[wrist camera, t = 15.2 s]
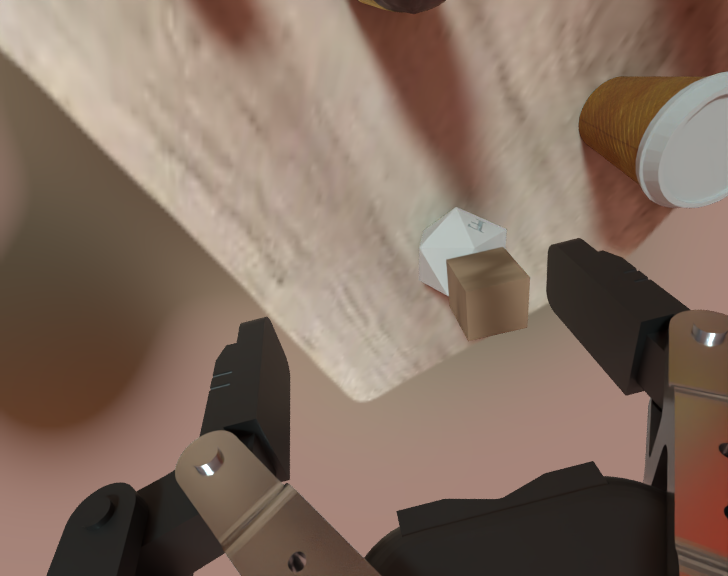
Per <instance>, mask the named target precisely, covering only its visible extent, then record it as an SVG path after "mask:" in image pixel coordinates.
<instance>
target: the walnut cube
mask: <svg viewBox="0 0 728 576" xmlns="http://www.w3.org/2000/svg"><path fill="white" fill-rule="evenodd" d="M446 266H447V279H448V292H449V305H450V308H451V309H452V311H453V313H454V315H455V317H456V319H457V321H458V323H459V325H460V326H461V328H462V330H463V332H464V334H465V336H466V338H467V340H468V341H471V340H475V339H479V338H484V337H488V336H492V335H497V334H501V333H505V332H509V331H514V330H518V329H523V328H527V322H528V304H529V285H530V277H529V276H528V275H527V273H526V272H525V271H524V270H523V269H522V268H521V267H520V266H519V264H518V263H517V262H516V261H515V260H514V259H513V258H512V256H511V255H510V254H509V253H508V252H507V251H506V250H505V249H504V247H500V248H495V249H491V250H486V251H482V252H478V253H473V254H469V255H464V256H460V257H455V258H451V259H447V260H446Z"/></svg>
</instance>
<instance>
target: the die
mask: <svg viewBox="0 0 728 576" xmlns="http://www.w3.org/2000/svg"><path fill="white" fill-rule="evenodd" d="M506 234H507V229H505V228H503V227H501V226H498V225H496V224H494V223H492V222H489V221H487V220H485V219H483V218H480V217H478V216H476V215H474V214H471V213H469V212H467V211H464V210H462V209H460V208H458V207H455V208H454V209H452V210H451V211H449V212H448V213H447V214H445V215H444V216H443V217H441V218H440V219H438V220H437V221H436V222H434V223H433V224H432V225H430V226H429V227H428V228H426V229H425V230H424V231H423V235H422V239H421V243H420V247H419V280H420V281H421V282H423V283H425V284H427V285H429V286H430V287H432V288H434V289H436V290H438V291H440V292H441V293H443V294H445V295H447V296H449V292H448V279H447V266H446V260H447V259H451V258H455V257H460V256H464V255H469V254H473V253H478V252H482V251H486V250H491V249H495V248H500V247H504V249H505V246H506Z"/></svg>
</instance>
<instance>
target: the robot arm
mask: <svg viewBox="0 0 728 576" xmlns="http://www.w3.org/2000/svg"><path fill="white" fill-rule="evenodd" d="M546 292H547V298H548V301H549V304H550V306H551V308H552V310H553V311H554V312H555V314H556V315H557V316H558V317H559V318H560V319H561V321H562V322H563V323H564V324H565V325H566V326H567V328H568V329H569V330H570V331H571V332H572V333H573V335H574V336H575V337H576V338H577V339H578V340H579V342H580V343H581V344H582V345H583V346H584V347H585V349H586V350H587V351H588V352H589V353H590V354H591V356H592V357H593V358H594V359H595V360H596V361H597V363H598V364H599V365H600V366H601V367H602V368H603V370H604V371H605V372H606V373H607V374H608V375H609V377H610V378H611V379H612V380H613V381H614V382H615V384H616V385H617V386H618V387H619V388H620V389H621V390H622V392H623V393H624V394H625V395H630V394H634V393H638V392H642V391H645V392H646V393H647V394H648V395H649V396H650V401H649V405H648V420H647V439H646V458H645V459H646V460H645V472H644V480H643V483H641V482H638V481H634V480H629V479H625V478H618V477H609V476H603V475H602V474H601V473H600V471H599V469H598V468H597V466H596V465H595V463H594V462H593V461H592V462H588V463H584V464H580V465H576V466H572V467H568V468H564V469H560V470H556V471H553V472H549V473H545V474H543V475H541V476H540V477H538V478H536V479H535V480H533V481H531V482H529V483H528V484H526V485H524V486H522V487H521V488H519V489H517V490H516V491H514V492H512V493H510V494H509V495H507V496H505V497H503V498H500V499H442V500H439V501H435V502H431V503H427V504H423V505H419V506H415V507H411V508H407V509H403V510H399V511H397V516H398V521H399V525H400V527H398V528H397V529H395V530H393V531H391V532H390V533H389V534H387V535H386V536H385V537H383V538H382V539H381V540H380V541H379V542H378V543H377V544H376V545H375V546H374V547H373V548H372V549H371V550H370V551H369V552H368V554H367V555H366V556H365V557H364V558H363V557H362V556H361V555H360V554H359V553H358V552H357V551H356V550H355V549H354V548H353V547H352V546H351V545H350V544H349V543H348V542H347V541H346V540H345V539H344V538H343V537H342V536H341V535H340V534H339V533H338V532H337V531H336V530H335V529H334V528H333V527H332V526H331V525H330V524H329V523H328V522H327V521H326V520H325V519H324V518H323V517H322V516H321V515H320V514H319V513H318V512H317V511H316V510H315V509H314V508H313V507H312V506H311V505H310V504H309V503H308V502H307V501H306V500H305V499H304V498H303V497H302V496H301V495H300V494H299V493H298V492H297V491H296V490H295V489H294V488H293V487H292V486H291V485H290V484H288V483H286V484H285V485H284V484H282V483H281V482H283V481H287V480H289V479H290V371H289V366H288V362H287V358H286V356H285V353H284V351H283V349H282V346H281V344H280V342H279V339H278V337H277V335H276V332H275V330H274V328H273V325H272V323H271V321H270V319H269V318H268V317H264V318H260V319H256V320H252V321H248V322H244V323H241V324H240V327H239V333H238V339H237V343H234V344H231V345H227V346H226V347H225V348H224V350H223V351H222V352H221V354H220V355H219V357H218V359H217V360H216V363H215V368H214V372H213V378H212V381H211V386H210V389H211V391H209V396H208V401H207V405H206V409H205V414H204V419H203V423H202V428H201V433H200V437H199V438H198V439H196V440H195V441H193V442H192V443H191V444H190V445H189V446H188V447H187V448H186V449H185V450H184V451H183V453H182V454H181V456H180V458H179V459H178V462H177V464H176V468H175V470H174V471H173V472H171V473H169V474H168V475H166V476H164V477H162V478H160V479H159V480H157V481H155V482H153V483H152V484H150V485H148V486H146V487H144V488H142V489H140V490H138V491H137V492H136V491H135V490H134V489H133V487H131V486H130V485H129V484H126V483H113V484H109V485H107V486H104V487H102V488H100V489H98V490H97V491H95V492H94V493H92V494H91V495H90V496H88V497H87V498H86V499H85V500H84V501H83V502H82V503H81V504H80V505H79V506H78V507H77V508H76V510H75V511H74V512H73V513H72V515H71V516H70V518H69V520H68V522H67V524H66V526H65V529H64V531H63V534H62V537H61V539H60V542H59V544H58V547H57V550H56V552H55V555H54V557H53V560H52V563H51V565H50V568H49V570H48V573H47V576H193V573H194V572H195V571H197V570H198V569H200V568H202V567H203V566H205V565H206V564H208V563H210V562H211V561H213V560H214V559H216V558H218V557H219V556H221V555H223V554H224V553H226V555H227V557H228V558H229V559H230V561H231V562H232V564H233V565H234V567H235V568H236V569H237V571H238V572H239V573H240V575H241V576H728V315H725V314H722V313H717V312H714V311H708V310H690V309H689V308H687V307H686V306H685V305H683V304H682V303H681V302H680V301H678V300H677V299H676V298H674V297H673V296H672V295H670V294H669V293H668V292H666V291H665V290H664V289H663V288H661V287H660V286H659V285H657V284H656V283H655V282H653V281H652V280H648V277H647V276H645V275H644V274H643V273H641V272H640V271H637V270H636V268H635V267H633V266H632V265H631V264H630V263H628V262H627V261H626V260H625V259H623V258H621V257H619V256H616V255H614V254H611V253H608V252H606V251H599V252H597V251H596V250H595V249H594V248H592V247H591V246H590V245H589V244H588V243H586V242H585V241H584V240H582V239H580V238H577V239H573V240H569V241H565V242H561V243H557V244H553V245H551V246H550V247H549V250H548V262H547V286H546Z"/></svg>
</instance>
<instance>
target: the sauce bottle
mask: <svg viewBox="0 0 728 576" xmlns="http://www.w3.org/2000/svg"><path fill="white" fill-rule="evenodd" d="M358 1H359V2H362V3H364V4H368V5H371V6H374V7H377V8H380V9H384V10H388V11H393V12H407V13H412V14H416V13H419V12H422V11H425V10H429V9H432V8H434V7H436V6H438V5H440V4H441V3H443V2H445V1H446V0H358Z"/></svg>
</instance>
